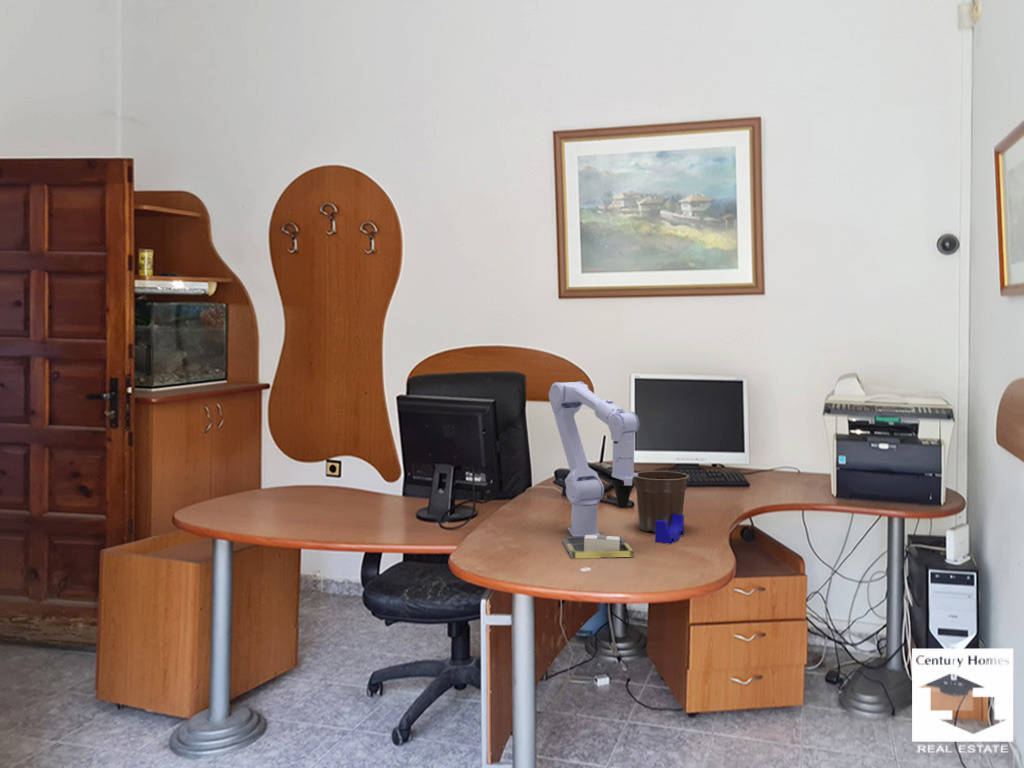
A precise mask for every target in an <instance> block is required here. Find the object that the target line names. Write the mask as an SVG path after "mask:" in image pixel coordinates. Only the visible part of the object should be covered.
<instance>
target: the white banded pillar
mask: <svg viewBox="0 0 1024 768" xmlns="http://www.w3.org/2000/svg"><path fill="white" fill-rule="evenodd" d="M583 544H584V550H583V552H586V551H621V550H620V537H617V535H616V536H614V535H605V534H600V535H585V537H584V543H583Z"/></svg>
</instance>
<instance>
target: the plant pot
mask: <svg viewBox="0 0 1024 768" xmlns="http://www.w3.org/2000/svg"><path fill="white" fill-rule="evenodd" d="M636 473H637V474H638V477H634V478H633V482H634V483H635V485H634V487H635V488H634V489H635V490H636V491H635V492H636V501H637V502H636V503H637V513H638V523H639V524H638V526H639V527H638V528H639V529H640V530H641V531H643V532H647V533H648V532H653V534H655V523H656V521H657V520H661V521H668V528H669V527H670V524H671V520H672V514H680V515H684V514H683V512H684V505H685V504H684V503H685V497H686V496H685V493H686V490H687V486H688V479H689V478H690V475H689V474H687V473H684V472H678V471H669V470H667V471H666V470H647V471H638V472H636Z"/></svg>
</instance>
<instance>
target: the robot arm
mask: <svg viewBox="0 0 1024 768" xmlns="http://www.w3.org/2000/svg"><path fill="white" fill-rule="evenodd" d="M547 395H548V398H549V402H550V405H551V409H552V410H551V411H552V413H553V414H554V415H553V416H554V420H555V423H556V425H557V430H558V433H559V436H560V439H561V443H562V447H563V450H564V454H565V457H566V461H567V465H568V468H569V471H570V472H569V473H568V474H567V476H566V477H565V479H564V483H565V494H566V497H567V500H568V501H569V503H570V504H571V527H567V530H568V531H569V533H570V535H571V537H585V535H601V534H600V532H599V531H598V504H600V500H602V498H603V497H604V493H605V487H604V483H603V482H602V480H601V479H600V477H599V475H598V472H597V471H595V470H594V469H592V468H591V467H589V464H588V461H587V456H586V454H585V450H584V447H583V443H582V439H581V437H580V432H579V430H578V427H577V423H576V420H575V415H576V413H578V412H579V411H580V409H581V408H582V406H583V405H584V406H586V407H588V408H589V409H591V410H593V411H594V415H595V417H596V418H597V419H599V420H600V421H602V423H604V424H605V425H607V426H608V430H609V431H610V438H611V440H612V473H611V477H612V478H615V479H616V480H611V484H612V486H613V489H614V492H615V497H616V498H615V499H616V502H617V503H616V504H617V507H618V508H619V509H627V508H628V505H629V501H630V500H629V499H630V498H631V497H630V495H631V494H632V491H633V489H634V487H635V482H634V477H638V474H637V472H635V466H634V465H635V433H637V432H638V430H639V428H640V420H639V417H638V415H637V414H636V413H635V412H634V411H628V412H627V411H625V410H624V408H623V407H619V406H618V405H616V404H615V403H614V400H612V399H603V400H602V399H601V398H600V397H599V396H598V395H596V394H595V393H594V392H593V391H591V390H590V389H589V385H588V384H586V383H584V382H583V381H570V382H568V381H567V382H558V381H557V382H553V383H552V385H551V386H550V389H549V392H548V394H547Z"/></svg>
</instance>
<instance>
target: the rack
mask: <svg viewBox="0 0 1024 768" xmlns="http://www.w3.org/2000/svg"><path fill="white" fill-rule="evenodd" d="M616 536H617V535H616ZM617 537H620V549H624V550H620V551H586V552H584V537H573V536H562V544H563V543H564V544H563V545H565V546H564V548H565V549H566V551H567V552H569V553H568V554H570V555H569V557H570V556H571V557H570V559H602V558H601V557H634V555H635V554H634V553H635V552H634V549H632V547H631V545H630V544H628V542H626V541H625V540H624V539H623V538H622V536H617Z"/></svg>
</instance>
